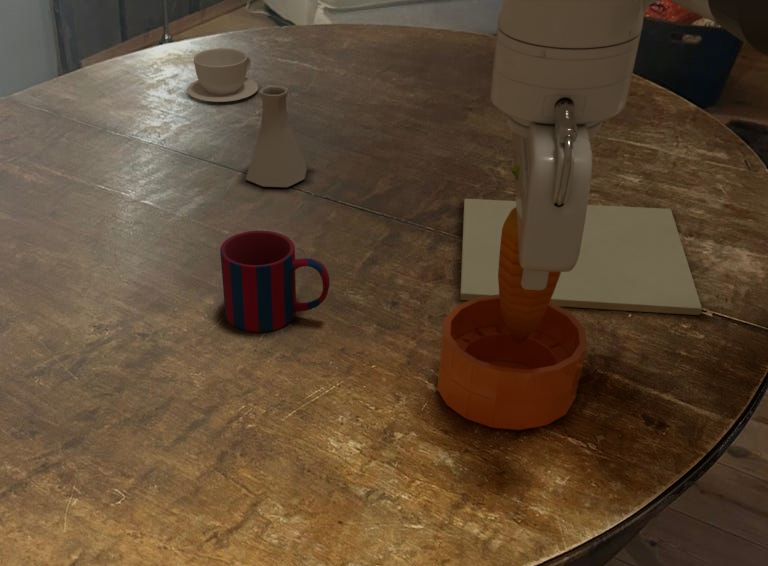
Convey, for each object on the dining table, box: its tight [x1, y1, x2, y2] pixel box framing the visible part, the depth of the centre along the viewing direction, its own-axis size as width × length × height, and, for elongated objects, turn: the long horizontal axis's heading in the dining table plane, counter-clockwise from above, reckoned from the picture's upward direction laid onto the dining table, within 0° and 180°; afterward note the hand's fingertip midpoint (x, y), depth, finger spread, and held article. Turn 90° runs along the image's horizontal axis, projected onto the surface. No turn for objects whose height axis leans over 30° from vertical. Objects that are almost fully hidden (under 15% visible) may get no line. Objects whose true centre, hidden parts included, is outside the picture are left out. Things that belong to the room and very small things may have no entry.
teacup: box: [186, 47, 259, 103], centre depth 128 cm, size 10×10×5 cm
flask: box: [245, 84, 308, 188], centre depth 106 cm, size 7×7×10 cm
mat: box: [459, 198, 703, 316], centre depth 94 cm, size 22×20×1 cm
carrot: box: [498, 165, 561, 344], centre depth 69 cm, size 5×5×15 cm
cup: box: [219, 230, 330, 333], centre depth 85 cm, size 7×10×7 cm
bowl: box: [436, 294, 588, 431], centre depth 76 cm, size 11×11×6 cm
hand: (531, 263), depth 70 cm, fingers closed on carrot, 5 cm apart
